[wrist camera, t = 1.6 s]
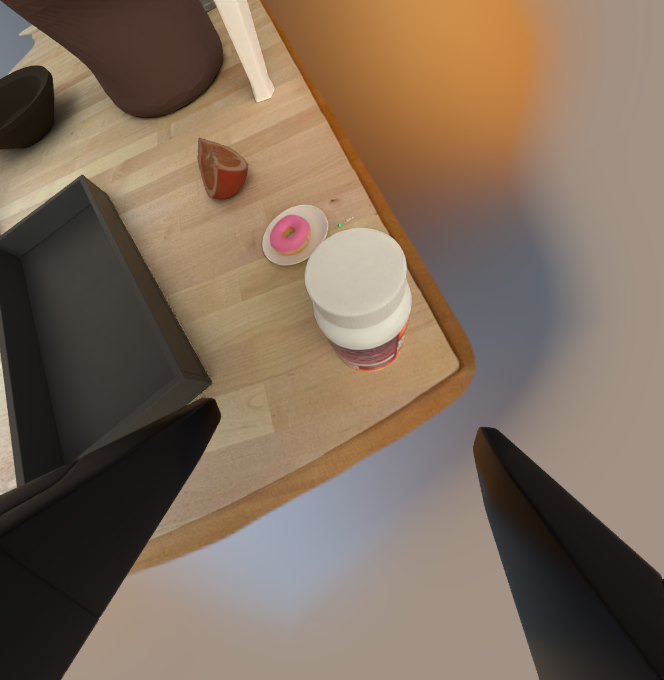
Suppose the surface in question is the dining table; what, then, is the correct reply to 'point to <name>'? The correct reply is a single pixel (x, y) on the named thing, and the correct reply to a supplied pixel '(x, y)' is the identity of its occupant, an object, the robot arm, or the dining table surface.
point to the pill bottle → (360, 296)
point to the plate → (26, 107)
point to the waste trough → (84, 334)
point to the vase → (135, 47)
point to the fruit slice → (221, 169)
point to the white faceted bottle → (246, 45)
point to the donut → (295, 234)
